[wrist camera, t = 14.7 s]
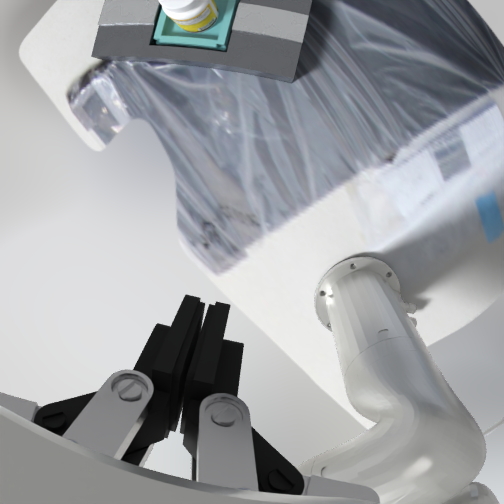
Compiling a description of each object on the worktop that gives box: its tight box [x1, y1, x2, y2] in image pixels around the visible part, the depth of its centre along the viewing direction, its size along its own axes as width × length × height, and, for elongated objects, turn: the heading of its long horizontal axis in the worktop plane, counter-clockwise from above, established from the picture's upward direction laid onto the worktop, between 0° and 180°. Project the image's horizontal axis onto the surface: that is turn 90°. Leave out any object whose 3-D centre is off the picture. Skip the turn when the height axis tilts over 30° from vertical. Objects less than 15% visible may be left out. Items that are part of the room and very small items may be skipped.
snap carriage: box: [154, 0, 240, 52], centre depth 28 cm, size 8×8×3 cm
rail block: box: [91, 0, 312, 83], centre depth 29 cm, size 24×12×4 cm, turn 78°
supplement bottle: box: [159, 0, 219, 33], centre depth 24 cm, size 5×5×8 cm
